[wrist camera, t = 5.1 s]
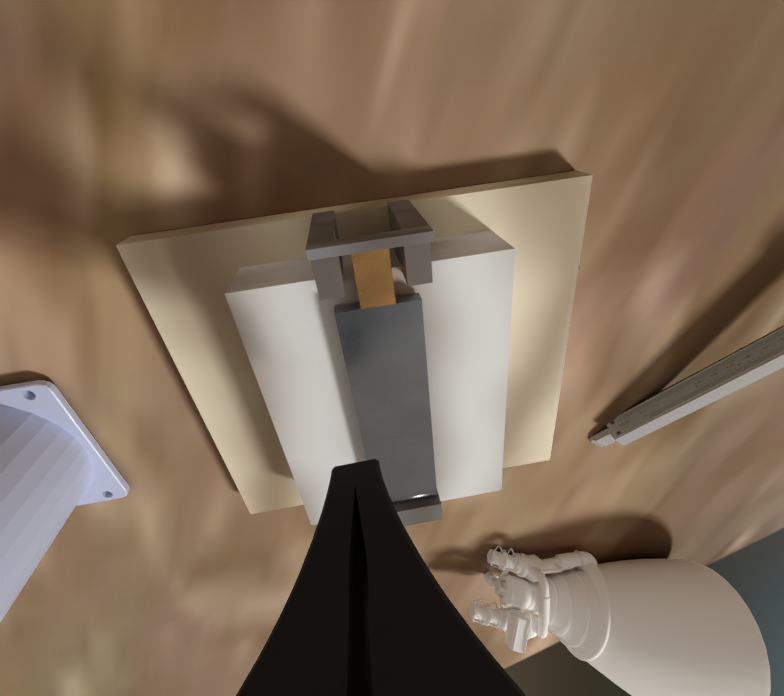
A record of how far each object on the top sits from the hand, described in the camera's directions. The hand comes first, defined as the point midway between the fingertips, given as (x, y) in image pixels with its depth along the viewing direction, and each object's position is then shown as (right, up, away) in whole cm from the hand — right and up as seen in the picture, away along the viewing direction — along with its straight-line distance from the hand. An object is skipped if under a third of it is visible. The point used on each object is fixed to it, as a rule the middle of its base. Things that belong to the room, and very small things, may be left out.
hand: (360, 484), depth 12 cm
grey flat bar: (+1, +2, +4) cm, 5 cm away
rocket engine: (+17, -13, +21) cm, 30 cm away
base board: (+1, +3, +8) cm, 9 cm away
